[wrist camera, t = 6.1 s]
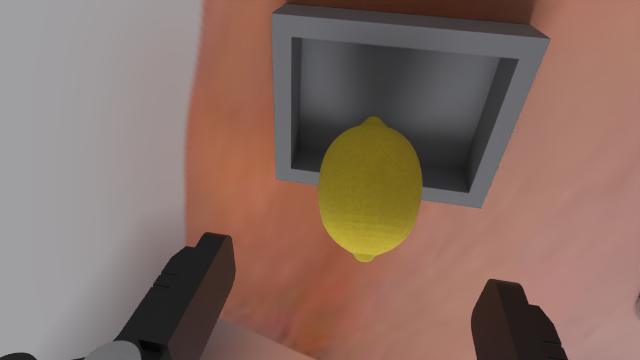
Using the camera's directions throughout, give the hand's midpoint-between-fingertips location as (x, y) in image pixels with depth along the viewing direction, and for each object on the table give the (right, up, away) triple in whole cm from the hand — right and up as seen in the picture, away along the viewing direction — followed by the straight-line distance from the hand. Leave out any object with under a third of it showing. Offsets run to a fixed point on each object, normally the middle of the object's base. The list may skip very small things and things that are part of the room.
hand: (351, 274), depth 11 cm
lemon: (+2, +7, +9) cm, 12 cm away
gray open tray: (+3, +8, +11) cm, 14 cm away
